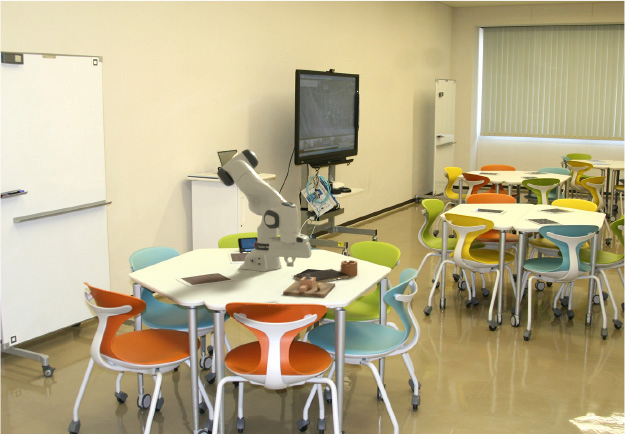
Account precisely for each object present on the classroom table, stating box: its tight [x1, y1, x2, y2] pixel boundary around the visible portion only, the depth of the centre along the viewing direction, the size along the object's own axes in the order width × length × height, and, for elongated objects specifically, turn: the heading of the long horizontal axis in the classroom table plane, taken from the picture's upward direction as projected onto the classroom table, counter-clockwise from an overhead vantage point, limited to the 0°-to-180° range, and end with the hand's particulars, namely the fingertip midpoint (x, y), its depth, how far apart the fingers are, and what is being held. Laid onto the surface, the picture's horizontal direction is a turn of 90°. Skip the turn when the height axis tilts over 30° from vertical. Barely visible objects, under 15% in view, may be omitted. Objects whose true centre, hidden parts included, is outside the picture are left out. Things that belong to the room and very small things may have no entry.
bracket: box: [340, 260, 358, 278], centre depth 369 cm, size 18×8×7 cm, turn 0°
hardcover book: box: [293, 268, 349, 283], centre depth 359 cm, size 16×23×2 cm
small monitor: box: [237, 236, 258, 253], centre depth 427 cm, size 12×11×7 cm
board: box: [282, 280, 336, 298], centre depth 336 cm, size 20×20×2 cm
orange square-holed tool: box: [299, 277, 316, 292], centre depth 333 cm, size 6×13×4 cm, turn 164°
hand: (290, 266), depth 330 cm, fingers closed
